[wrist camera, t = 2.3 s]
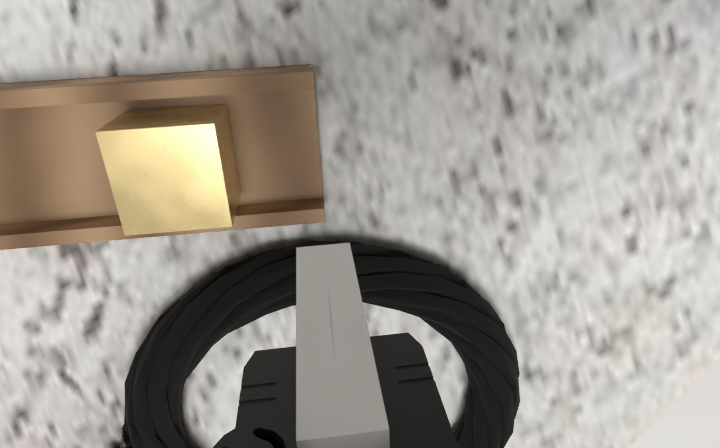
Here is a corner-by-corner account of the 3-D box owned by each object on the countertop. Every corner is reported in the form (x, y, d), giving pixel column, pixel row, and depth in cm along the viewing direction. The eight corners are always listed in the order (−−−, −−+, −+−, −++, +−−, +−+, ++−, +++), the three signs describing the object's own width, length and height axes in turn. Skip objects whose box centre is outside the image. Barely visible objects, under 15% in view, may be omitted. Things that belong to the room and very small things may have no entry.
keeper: (226, 104, 25) (214, 123, 21) (241, 195, 27) (232, 226, 24) (125, 111, 25) (95, 132, 21) (148, 202, 27) (124, 235, 23)
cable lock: (545, 508, 39) (183, 607, 39) (525, 466, 43) (193, 557, 43) (506, 203, 27) (-19, 349, 27) (482, 178, 30) (16, 309, 31)
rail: (312, 64, 26) (315, 84, 20) (323, 204, 29) (328, 252, 24) (-317, 102, 23) (-499, 136, 18) (-223, 249, 27) (-353, 314, 22)
